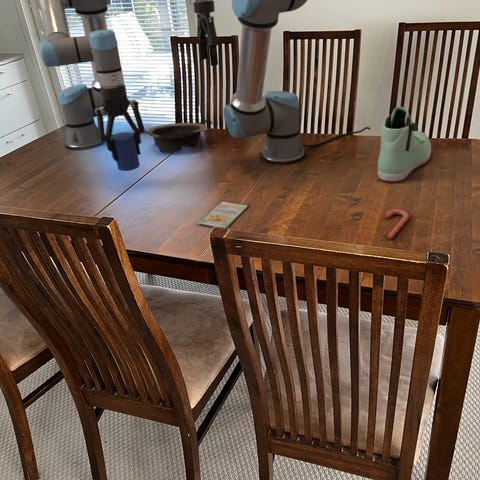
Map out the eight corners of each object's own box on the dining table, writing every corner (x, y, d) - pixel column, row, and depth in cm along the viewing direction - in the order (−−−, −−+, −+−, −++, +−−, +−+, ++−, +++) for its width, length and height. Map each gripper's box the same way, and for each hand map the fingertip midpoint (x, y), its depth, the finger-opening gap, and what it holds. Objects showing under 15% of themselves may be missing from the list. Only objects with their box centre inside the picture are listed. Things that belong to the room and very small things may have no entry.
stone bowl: (160, 161, 179) (155, 137, 175) (141, 147, 200) (136, 125, 195) (220, 146, 188) (216, 122, 184) (195, 134, 208) (192, 112, 204)
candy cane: (369, 235, 126) (370, 230, 125) (390, 211, 136) (390, 206, 135) (392, 241, 122) (392, 236, 122) (411, 215, 133) (412, 211, 132)
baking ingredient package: (197, 222, 136) (222, 200, 148) (198, 223, 137) (222, 201, 148) (225, 227, 133) (248, 204, 144) (225, 229, 133) (248, 206, 145)
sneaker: (435, 147, 173) (444, 90, 162) (416, 186, 148) (424, 121, 137) (397, 143, 179) (403, 88, 168) (371, 180, 154) (377, 117, 143)
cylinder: (127, 172, 155) (121, 141, 150) (113, 168, 159) (106, 137, 154) (144, 164, 160) (138, 134, 154) (129, 161, 164) (123, 131, 158)
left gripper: (83, 94, 139) (100, 168, 151) (147, 81, 147) (159, 152, 159) (76, 89, 144) (93, 161, 156) (138, 77, 153) (150, 146, 165)
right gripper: (185, -1, 182) (191, 58, 193) (202, 4, 161) (209, 69, 172) (204, -3, 184) (209, 55, 195) (223, 1, 163) (228, 66, 174)
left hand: (126, 156), depth 158 cm, fingers closed on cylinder, 7 cm apart
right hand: (209, 62), depth 184 cm, fingers open, 13 cm apart
